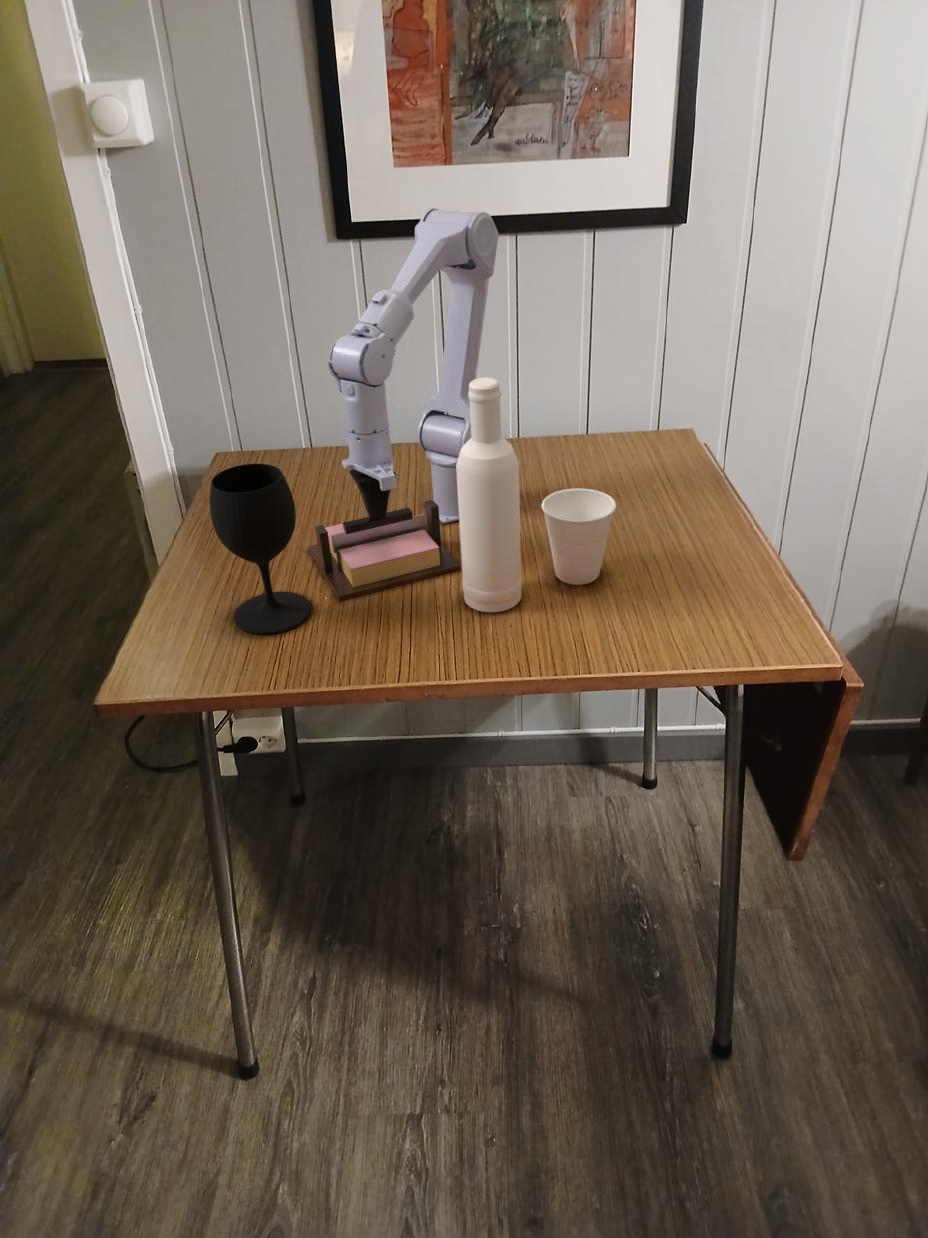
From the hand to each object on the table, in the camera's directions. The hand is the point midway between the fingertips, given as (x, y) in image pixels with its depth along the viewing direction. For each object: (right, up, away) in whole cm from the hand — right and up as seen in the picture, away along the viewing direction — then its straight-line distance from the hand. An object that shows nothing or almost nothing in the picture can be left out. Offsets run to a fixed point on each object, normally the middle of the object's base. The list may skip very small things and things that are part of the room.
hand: (377, 517), depth 132 cm
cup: (+28, -8, -2) cm, 29 cm away
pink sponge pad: (0, -6, +4) cm, 7 cm away
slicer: (0, -6, +4) cm, 7 cm away
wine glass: (-13, -14, -7) cm, 21 cm away
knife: (0, -3, +2) cm, 4 cm away
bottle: (+16, -12, -6) cm, 21 cm away
